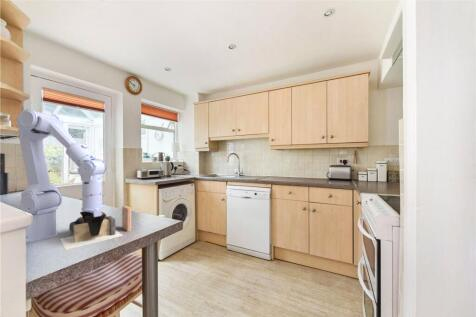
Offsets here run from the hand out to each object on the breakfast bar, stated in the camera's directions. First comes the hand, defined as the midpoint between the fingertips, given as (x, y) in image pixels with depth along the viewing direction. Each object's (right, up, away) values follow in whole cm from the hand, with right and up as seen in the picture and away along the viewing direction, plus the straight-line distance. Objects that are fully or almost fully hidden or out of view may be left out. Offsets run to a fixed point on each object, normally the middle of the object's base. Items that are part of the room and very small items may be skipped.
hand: (92, 233), depth 71 cm
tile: (+8, -2, +8) cm, 11 cm away
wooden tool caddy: (0, -1, 0) cm, 1 cm away
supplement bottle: (-4, +1, +13) cm, 13 cm away
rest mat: (0, -2, 0) cm, 2 cm away
